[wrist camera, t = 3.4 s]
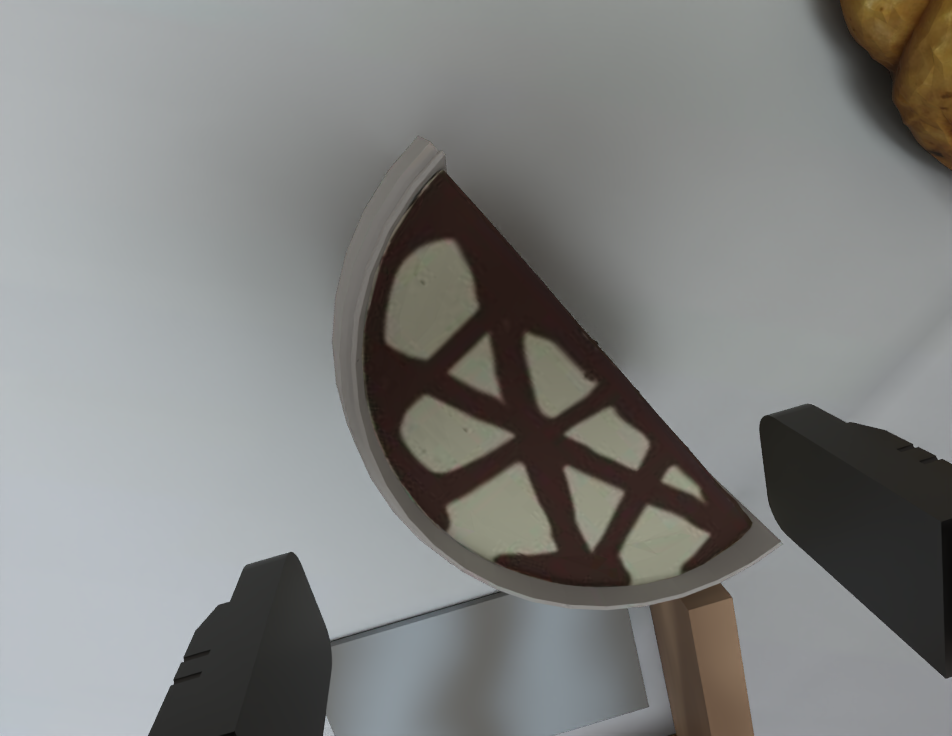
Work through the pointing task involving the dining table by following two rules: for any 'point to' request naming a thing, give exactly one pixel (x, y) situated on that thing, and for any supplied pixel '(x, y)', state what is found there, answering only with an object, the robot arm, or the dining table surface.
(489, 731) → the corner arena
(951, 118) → the bread roll
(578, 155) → the dining table surface
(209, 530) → the dining table surface
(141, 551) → the dining table surface
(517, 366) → the food container
